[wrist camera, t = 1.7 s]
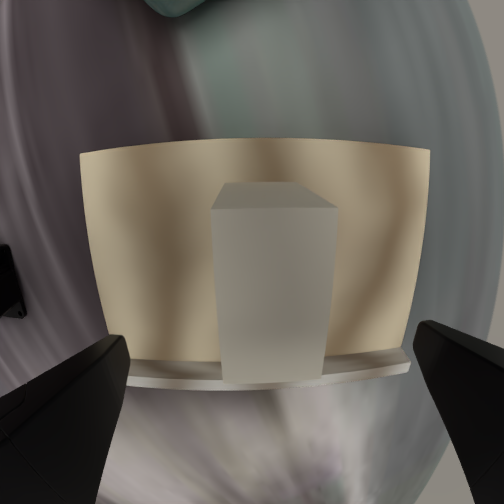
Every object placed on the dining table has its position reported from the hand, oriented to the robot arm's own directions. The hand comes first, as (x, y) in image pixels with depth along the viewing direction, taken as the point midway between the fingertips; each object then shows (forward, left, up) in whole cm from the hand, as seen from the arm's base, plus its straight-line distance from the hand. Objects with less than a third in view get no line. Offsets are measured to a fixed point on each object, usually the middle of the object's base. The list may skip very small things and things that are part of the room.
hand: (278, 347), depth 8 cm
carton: (0, 0, -10) cm, 10 cm away
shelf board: (0, -2, -11) cm, 11 cm away
